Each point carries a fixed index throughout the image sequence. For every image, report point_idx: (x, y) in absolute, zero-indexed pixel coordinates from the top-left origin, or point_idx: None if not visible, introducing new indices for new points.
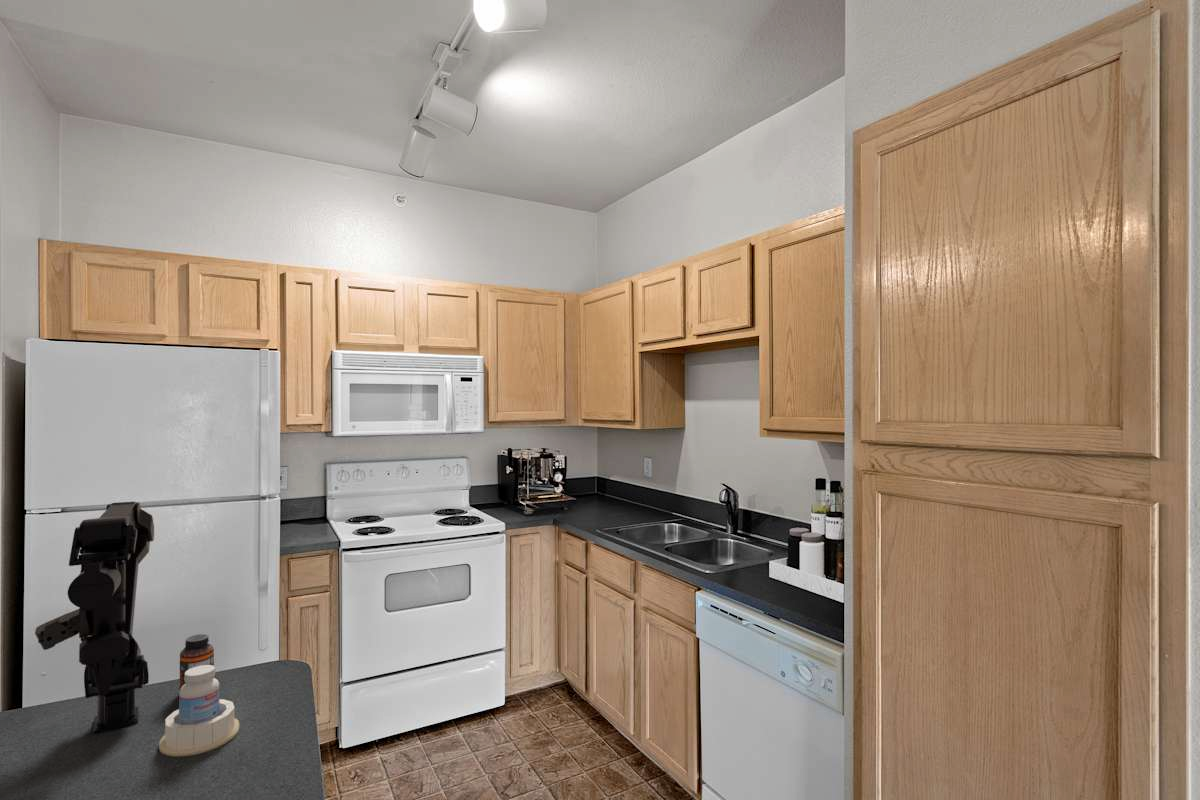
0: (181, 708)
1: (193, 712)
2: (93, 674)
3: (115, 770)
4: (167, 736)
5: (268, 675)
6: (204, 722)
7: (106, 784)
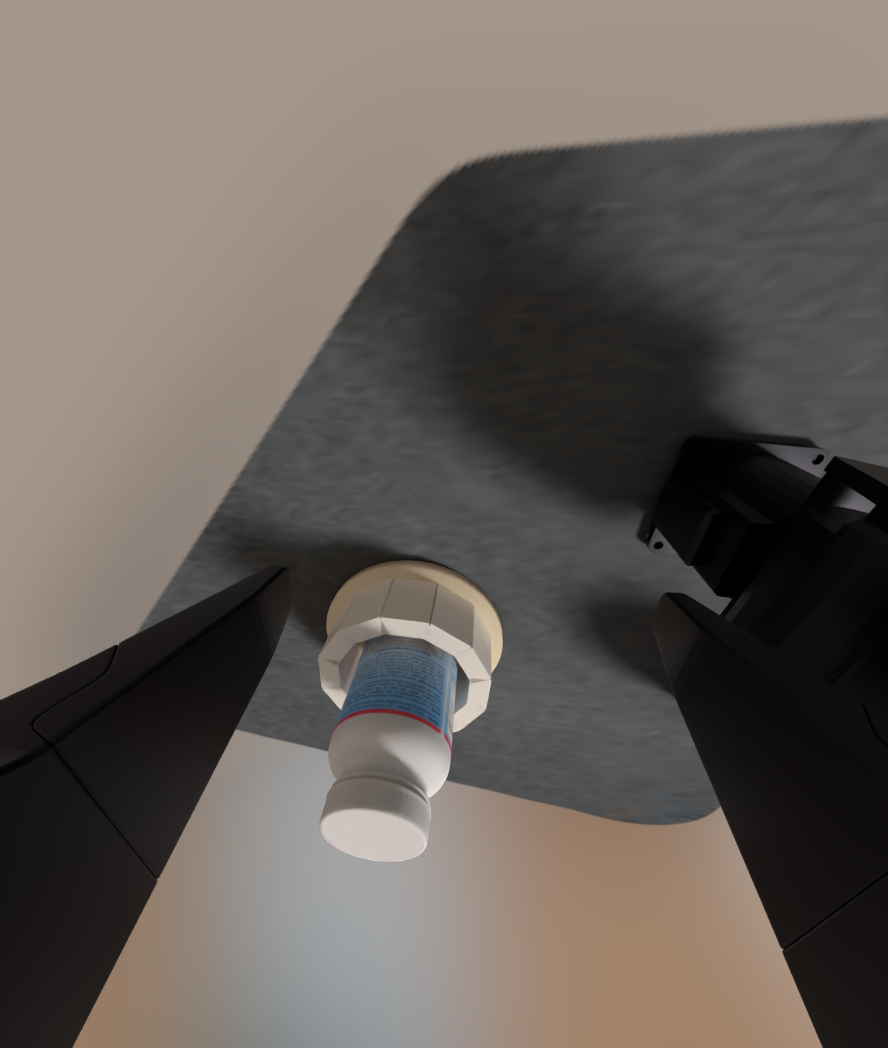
0: (375, 679)
1: (349, 687)
2: (856, 561)
3: (365, 465)
4: (380, 597)
5: (647, 784)
6: (335, 678)
7: (296, 440)
